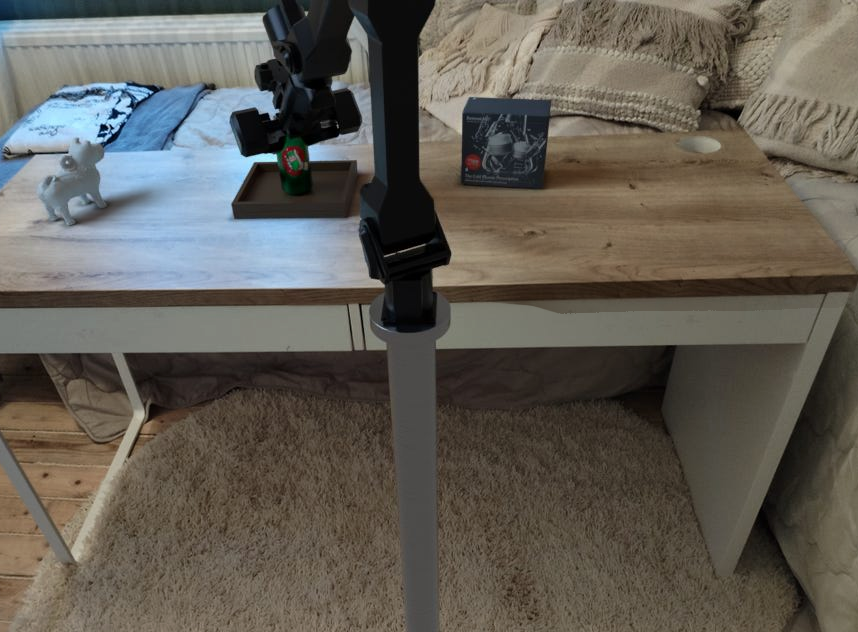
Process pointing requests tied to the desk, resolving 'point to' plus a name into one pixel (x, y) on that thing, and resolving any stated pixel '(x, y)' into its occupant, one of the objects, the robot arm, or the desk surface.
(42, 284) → the desk surface
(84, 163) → the dog figurine
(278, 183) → the tray
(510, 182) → the small box
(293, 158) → the soda can
